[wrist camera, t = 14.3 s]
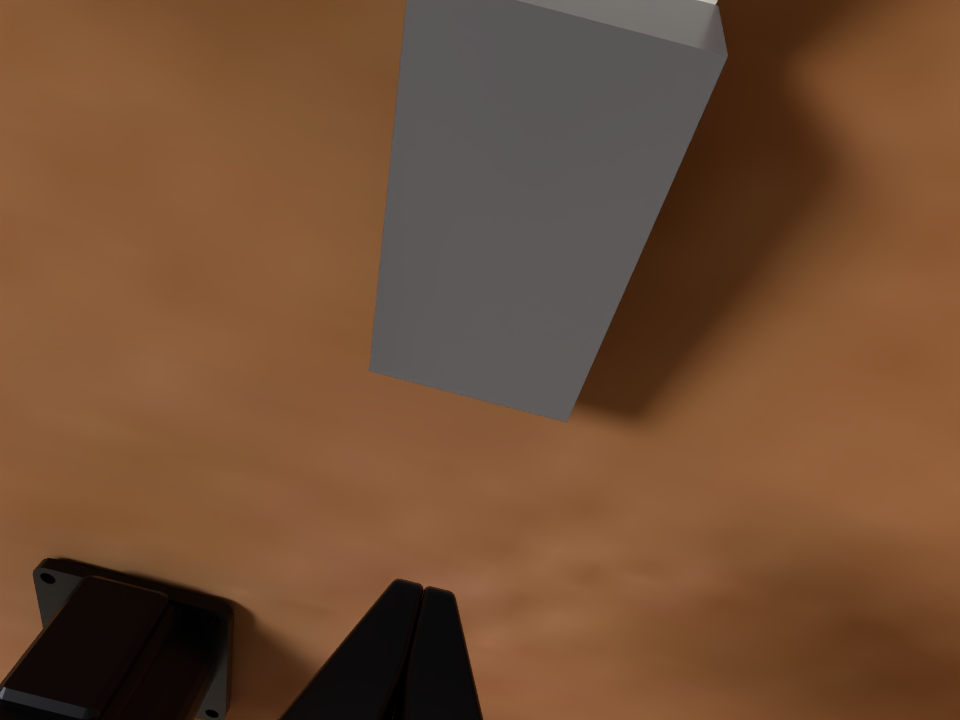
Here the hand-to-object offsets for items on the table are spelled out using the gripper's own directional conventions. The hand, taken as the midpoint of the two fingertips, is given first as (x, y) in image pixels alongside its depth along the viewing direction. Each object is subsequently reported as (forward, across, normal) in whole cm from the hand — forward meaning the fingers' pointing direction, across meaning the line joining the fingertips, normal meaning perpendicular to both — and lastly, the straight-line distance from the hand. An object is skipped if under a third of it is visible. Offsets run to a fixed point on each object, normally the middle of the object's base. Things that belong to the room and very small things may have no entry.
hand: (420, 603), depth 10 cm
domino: (+7, 0, 0) cm, 7 cm away
